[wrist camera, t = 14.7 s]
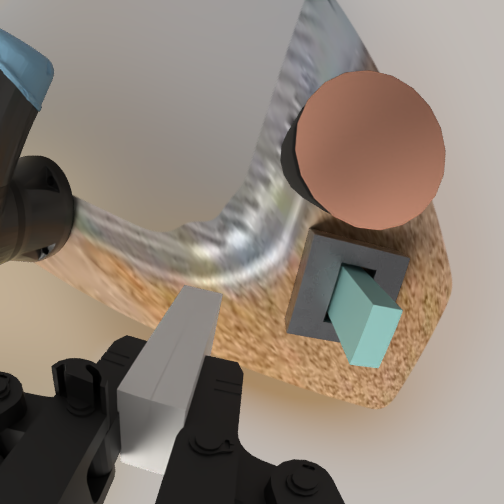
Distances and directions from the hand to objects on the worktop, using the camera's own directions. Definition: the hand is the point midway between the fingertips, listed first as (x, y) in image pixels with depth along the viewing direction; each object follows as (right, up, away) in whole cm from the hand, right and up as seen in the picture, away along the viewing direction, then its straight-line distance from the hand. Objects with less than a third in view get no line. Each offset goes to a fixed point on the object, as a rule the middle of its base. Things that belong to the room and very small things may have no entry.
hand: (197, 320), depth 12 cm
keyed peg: (+13, -1, +27) cm, 30 cm away
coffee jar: (+11, +14, +24) cm, 29 cm away
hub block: (+13, -1, +27) cm, 30 cm away
